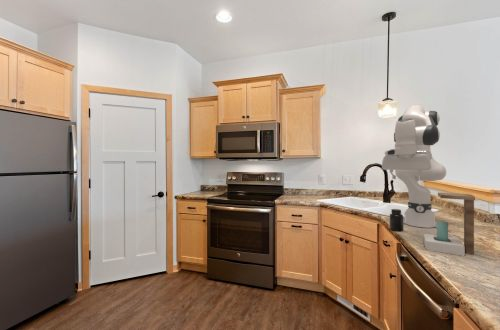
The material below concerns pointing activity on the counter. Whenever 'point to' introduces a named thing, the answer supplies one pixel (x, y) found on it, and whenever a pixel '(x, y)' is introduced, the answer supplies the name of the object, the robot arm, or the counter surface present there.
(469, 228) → the brown wooden overhang stand
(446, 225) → the peg
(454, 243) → the socket
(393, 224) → the supplement bottle
